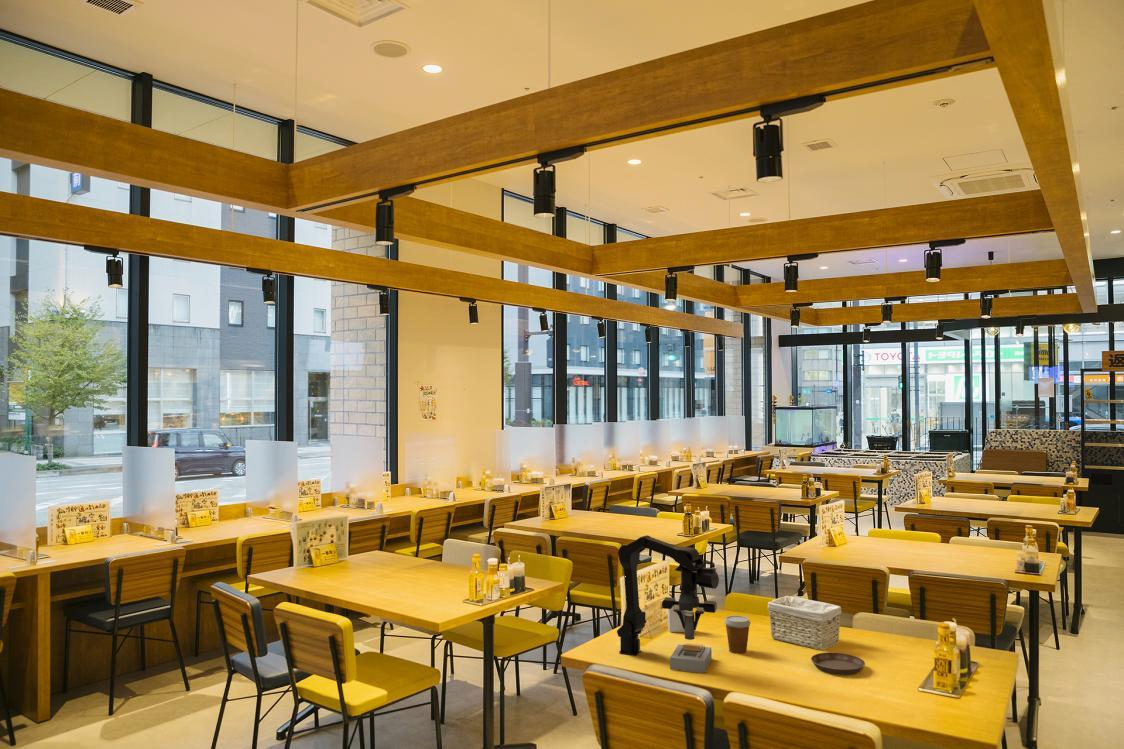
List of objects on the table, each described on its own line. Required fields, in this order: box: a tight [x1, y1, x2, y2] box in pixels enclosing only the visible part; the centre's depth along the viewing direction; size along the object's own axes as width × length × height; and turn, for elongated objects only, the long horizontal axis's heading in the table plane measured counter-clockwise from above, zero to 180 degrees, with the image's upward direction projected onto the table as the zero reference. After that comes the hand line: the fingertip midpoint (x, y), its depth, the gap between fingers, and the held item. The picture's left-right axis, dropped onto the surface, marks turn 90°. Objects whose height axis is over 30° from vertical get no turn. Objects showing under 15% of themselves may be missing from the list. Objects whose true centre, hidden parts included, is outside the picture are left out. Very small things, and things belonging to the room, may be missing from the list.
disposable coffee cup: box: [724, 615, 751, 655], centre depth 280 cm, size 10×10×12 cm
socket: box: [669, 643, 713, 674], centre depth 266 cm, size 12×16×5 cm
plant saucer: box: [810, 651, 866, 676], centre depth 261 cm, size 18×18×3 cm
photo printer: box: [667, 599, 694, 633], centre depth 306 cm, size 10×4×12 cm, turn 88°
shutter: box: [682, 642, 704, 651], centre depth 270 cm, size 6×6×2 cm
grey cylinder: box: [684, 611, 696, 641], centre depth 265 cm, size 3×3×9 cm
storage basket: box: [767, 595, 842, 651], centre depth 292 cm, size 24×16×15 cm
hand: (689, 629), depth 265 cm, fingers closed on grey cylinder, 3 cm apart
